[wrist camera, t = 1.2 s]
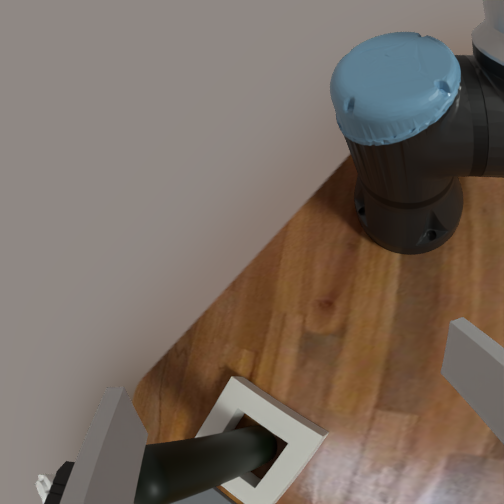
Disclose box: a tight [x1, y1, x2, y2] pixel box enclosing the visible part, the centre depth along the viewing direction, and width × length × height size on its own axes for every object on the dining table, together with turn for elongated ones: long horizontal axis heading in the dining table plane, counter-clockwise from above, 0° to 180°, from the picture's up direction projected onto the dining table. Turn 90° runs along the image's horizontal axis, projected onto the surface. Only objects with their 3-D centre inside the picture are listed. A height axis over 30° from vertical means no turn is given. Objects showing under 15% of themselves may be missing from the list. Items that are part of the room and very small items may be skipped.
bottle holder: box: [195, 376, 329, 504], centre depth 35 cm, size 14×14×3 cm
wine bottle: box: [34, 426, 277, 504], centre depth 24 cm, size 6×6×30 cm
